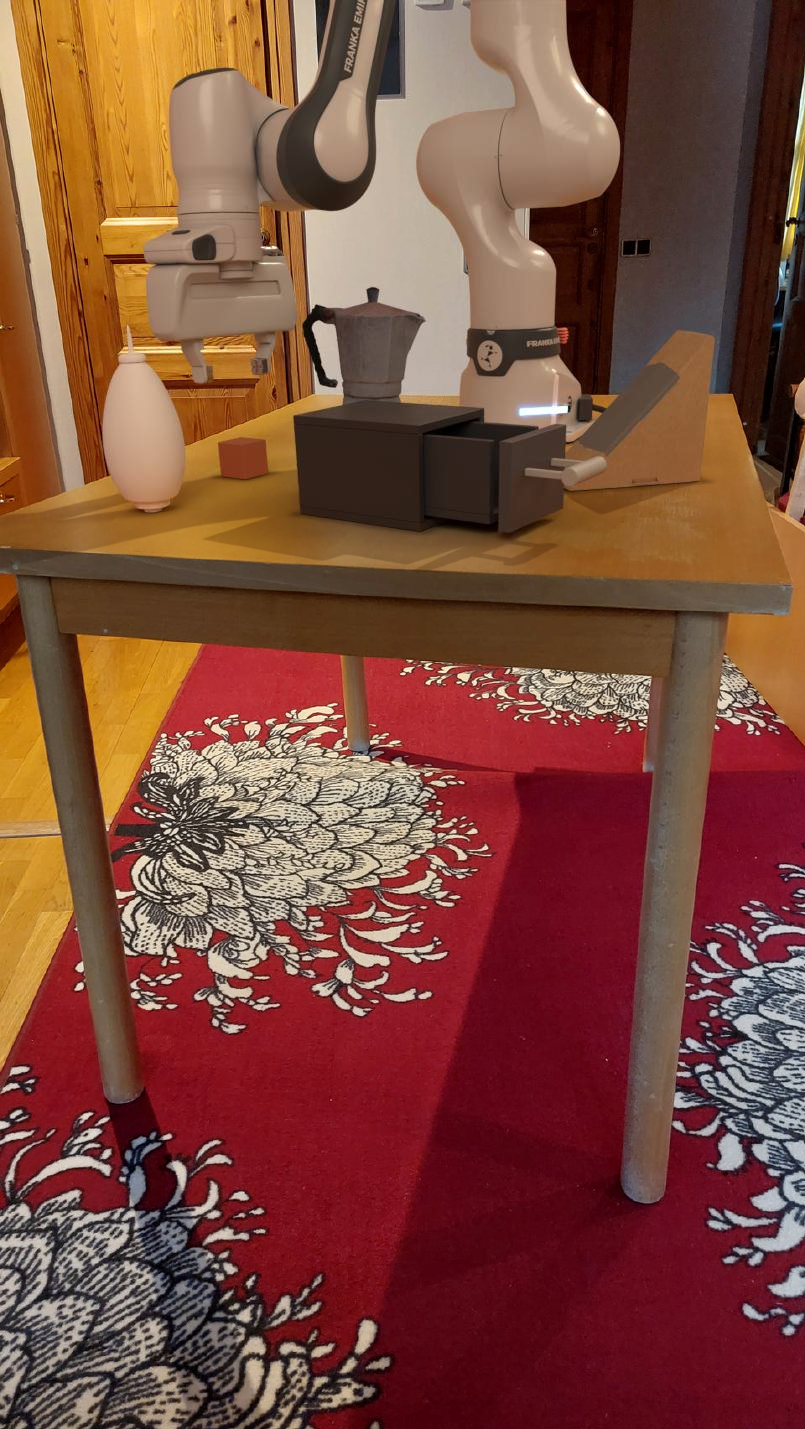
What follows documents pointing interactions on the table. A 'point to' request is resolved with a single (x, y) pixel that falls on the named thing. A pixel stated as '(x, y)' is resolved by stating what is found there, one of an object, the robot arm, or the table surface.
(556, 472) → the sliding drawer unit
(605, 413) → the sandwich container
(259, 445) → the block
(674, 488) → the table surface
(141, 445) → the air blower bulb
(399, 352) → the moka pot
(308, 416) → the dark drawer cabinet
